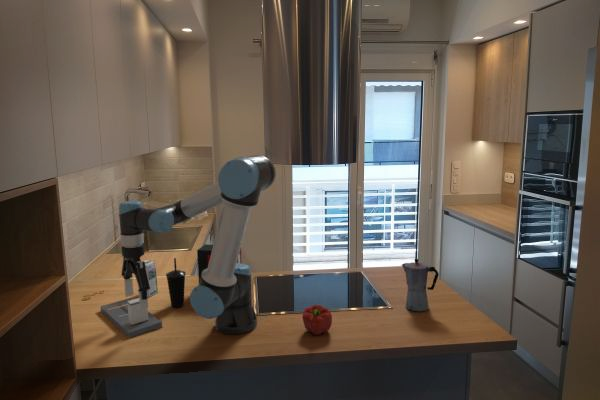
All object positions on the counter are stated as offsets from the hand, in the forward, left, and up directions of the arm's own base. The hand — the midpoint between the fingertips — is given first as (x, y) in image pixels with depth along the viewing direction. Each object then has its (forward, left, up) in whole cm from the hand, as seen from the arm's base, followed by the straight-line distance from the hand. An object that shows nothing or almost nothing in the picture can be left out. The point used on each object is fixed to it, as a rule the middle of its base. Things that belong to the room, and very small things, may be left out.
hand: (136, 301), depth 158 cm
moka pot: (-59, -89, -10) cm, 108 cm away
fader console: (+9, 0, -10) cm, 13 cm away
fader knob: (0, 0, -7) cm, 7 cm away
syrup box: (+28, -15, -10) cm, 33 cm away
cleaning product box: (+9, -40, -10) cm, 42 cm away
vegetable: (-47, -45, -10) cm, 66 cm away
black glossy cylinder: (+8, -19, -10) cm, 23 cm away
